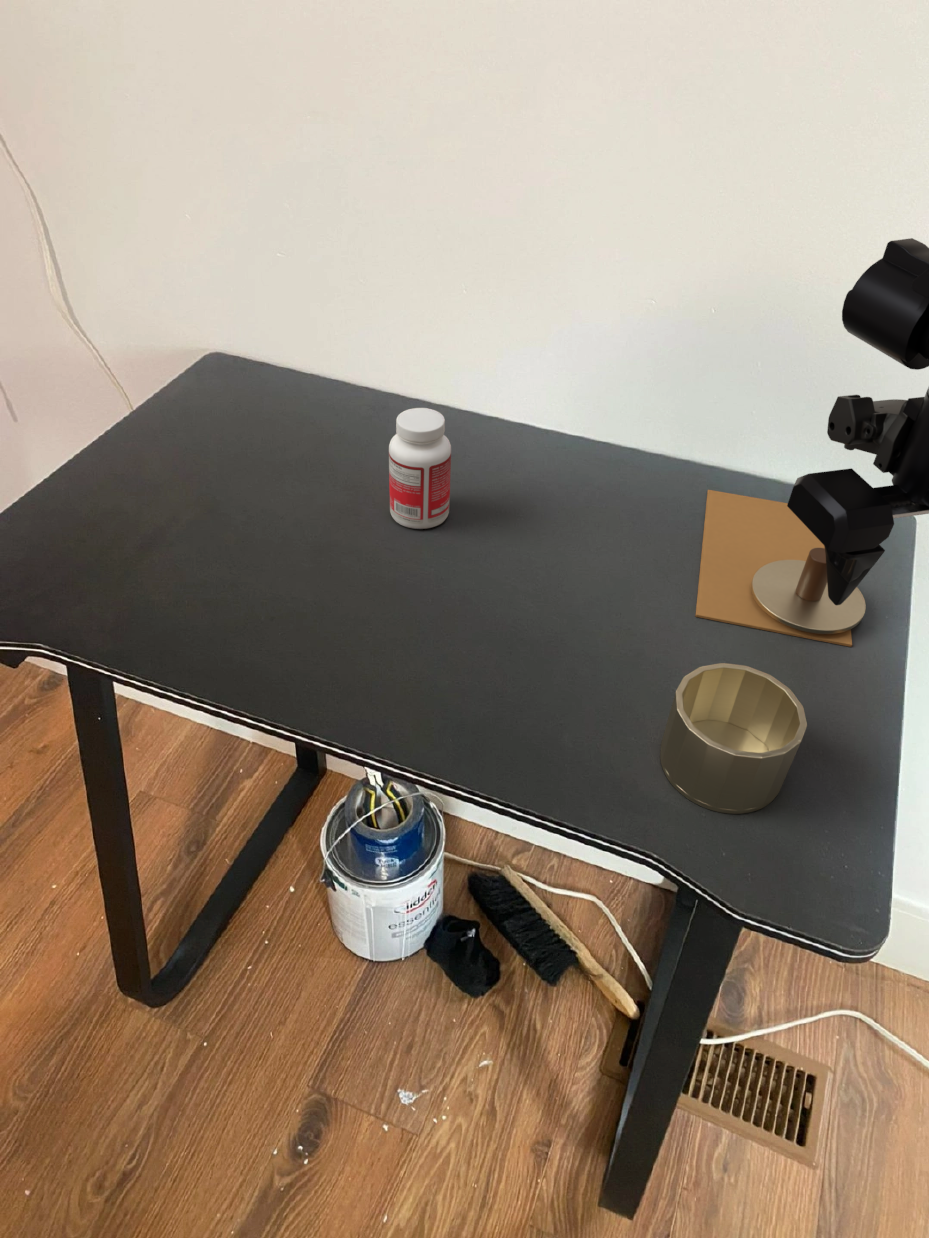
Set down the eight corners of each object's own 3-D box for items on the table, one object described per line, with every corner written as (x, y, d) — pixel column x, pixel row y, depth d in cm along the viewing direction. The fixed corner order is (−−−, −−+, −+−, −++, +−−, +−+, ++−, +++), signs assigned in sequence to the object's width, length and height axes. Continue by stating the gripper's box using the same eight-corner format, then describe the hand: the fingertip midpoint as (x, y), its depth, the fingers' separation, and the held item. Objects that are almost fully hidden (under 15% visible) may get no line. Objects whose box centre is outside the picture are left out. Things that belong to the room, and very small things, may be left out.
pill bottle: (443, 495, 98) (446, 402, 91) (454, 528, 94) (458, 433, 87) (385, 499, 97) (384, 405, 90) (393, 533, 93) (393, 437, 85)
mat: (838, 514, 99) (839, 512, 99) (851, 647, 83) (852, 644, 83) (707, 491, 101) (708, 489, 101) (695, 616, 85) (695, 614, 85)
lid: (822, 562, 92) (840, 516, 88) (884, 629, 85) (906, 582, 81) (729, 576, 90) (744, 529, 86) (785, 647, 82) (803, 599, 78)
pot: (744, 711, 76) (764, 655, 72) (805, 800, 70) (831, 743, 65) (640, 731, 74) (655, 674, 70) (693, 825, 67) (712, 768, 63)
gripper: (1007, 336, 66) (925, 516, 76) (777, 357, 61) (723, 545, 72) (1130, 411, 58) (1020, 601, 68) (876, 441, 53) (799, 639, 64)
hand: (887, 592), depth 68 cm, fingers open, 9 cm apart
